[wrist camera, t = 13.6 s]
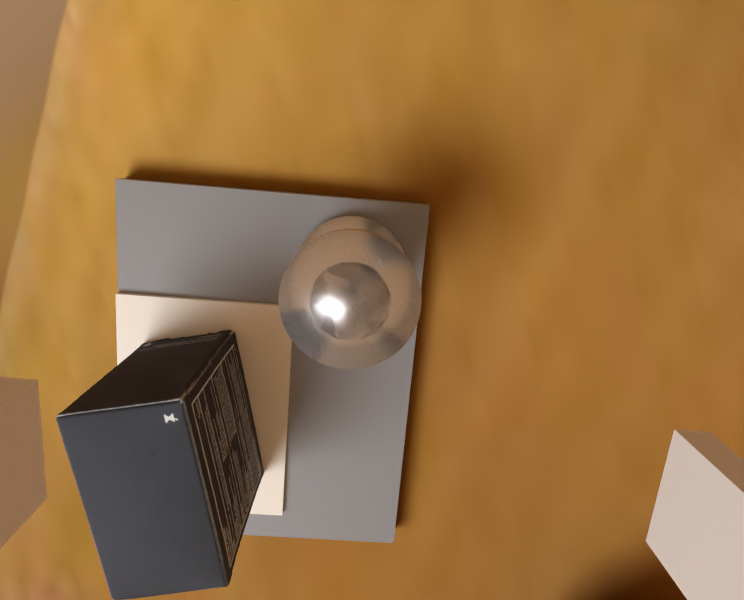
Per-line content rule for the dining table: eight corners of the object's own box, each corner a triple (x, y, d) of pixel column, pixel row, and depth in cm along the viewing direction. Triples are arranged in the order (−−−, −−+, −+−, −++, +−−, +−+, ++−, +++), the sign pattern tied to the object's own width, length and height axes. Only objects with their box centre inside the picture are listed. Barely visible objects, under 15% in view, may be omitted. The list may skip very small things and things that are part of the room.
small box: (134, 341, 35) (44, 413, 25) (236, 326, 35) (187, 393, 25) (172, 487, 38) (104, 608, 27) (267, 474, 38) (234, 589, 27)
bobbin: (412, 220, 34) (428, 236, 26) (401, 328, 36) (413, 373, 28) (298, 210, 34) (281, 224, 26) (293, 320, 35) (275, 364, 28)
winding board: (427, 203, 35) (430, 205, 34) (392, 529, 41) (394, 546, 39) (125, 178, 34) (112, 179, 33) (132, 515, 40) (121, 531, 38)
